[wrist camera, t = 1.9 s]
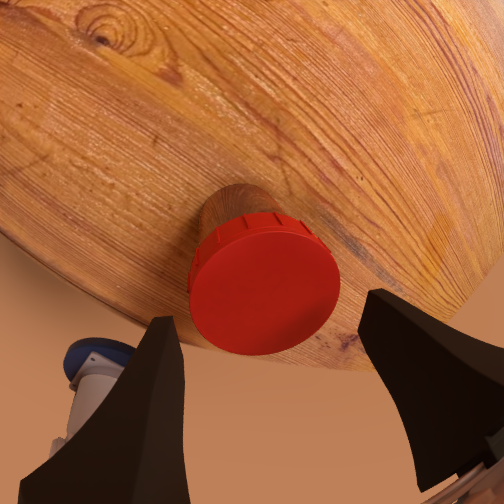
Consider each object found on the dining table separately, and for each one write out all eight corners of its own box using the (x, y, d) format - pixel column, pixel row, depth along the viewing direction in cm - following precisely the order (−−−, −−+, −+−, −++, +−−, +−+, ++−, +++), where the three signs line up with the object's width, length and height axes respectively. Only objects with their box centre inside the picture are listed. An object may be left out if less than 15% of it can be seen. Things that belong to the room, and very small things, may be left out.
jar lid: (259, 344, 14) (266, 371, 12) (161, 286, 11) (157, 314, 10) (346, 266, 13) (366, 289, 11) (258, 179, 10) (270, 193, 8)
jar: (242, 273, 19) (264, 357, 13) (181, 228, 17) (172, 305, 10) (296, 219, 18) (349, 284, 11) (238, 165, 16) (267, 205, 9)
